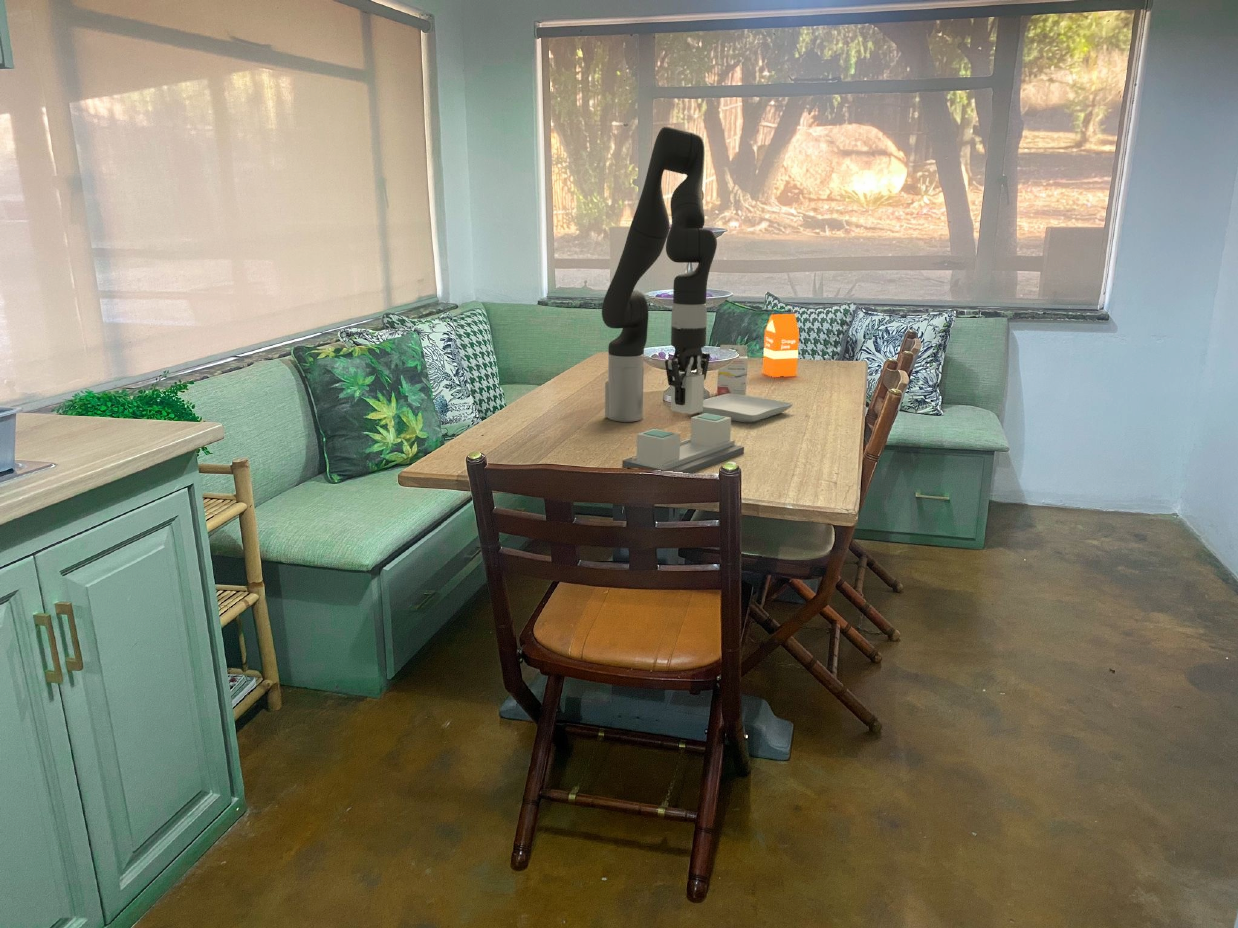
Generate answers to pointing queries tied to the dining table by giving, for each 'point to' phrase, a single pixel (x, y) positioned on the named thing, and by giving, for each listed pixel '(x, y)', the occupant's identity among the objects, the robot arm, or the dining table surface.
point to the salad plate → (743, 407)
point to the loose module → (690, 395)
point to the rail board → (686, 446)
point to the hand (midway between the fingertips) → (686, 402)
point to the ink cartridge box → (733, 373)
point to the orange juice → (781, 346)
